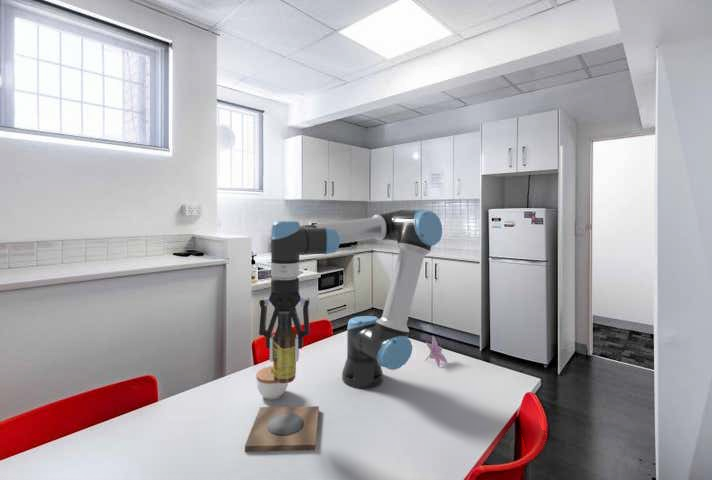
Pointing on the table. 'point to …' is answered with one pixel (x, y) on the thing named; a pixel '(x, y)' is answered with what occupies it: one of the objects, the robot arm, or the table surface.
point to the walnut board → (284, 429)
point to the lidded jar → (269, 384)
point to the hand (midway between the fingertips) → (284, 359)
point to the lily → (436, 352)
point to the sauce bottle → (284, 349)
